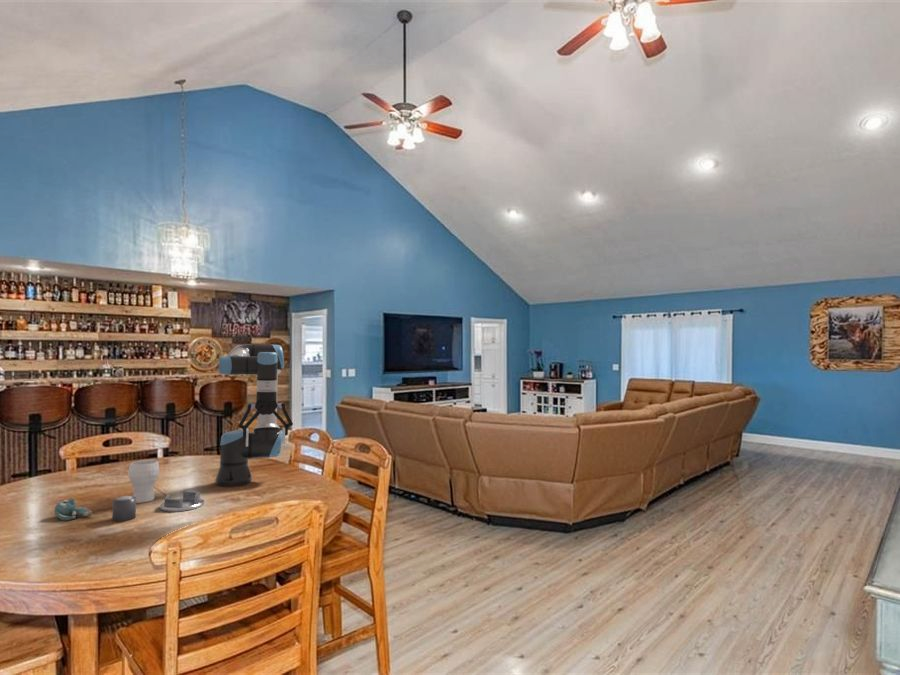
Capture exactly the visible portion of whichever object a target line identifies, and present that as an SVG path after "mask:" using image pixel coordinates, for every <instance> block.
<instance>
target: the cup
mask: <svg viewBox="0 0 900 675" xmlns="http://www.w3.org/2000/svg"><path fill="white" fill-rule="evenodd" d="M159 475H160V465H159V461H158V460H157V459H142V460H136V461H132V462H130V463H129V468H128V474H127V476H128V478H129V482H130V483H131V485H132V488H133V489H132V490H133V493H132V496H135V497H136V504H138V503H139V504H140V503H146V502H151V501H154V500H155V493H154V492H155V491H154V486H155V482H156V481H157V479H158V478H159Z"/></svg>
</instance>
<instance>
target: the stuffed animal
mask: <svg viewBox="0 0 900 675" xmlns="http://www.w3.org/2000/svg"><path fill="white" fill-rule="evenodd" d="M91 514H92V510H89V509H88V508H87V507H82V506H77V502H76V501H75V498H74V497H71V498H69V499H65V500H62V501H59V502H58V503H57V504H56V505H55V506H54V515H55V516H56V518H58V519H59V520H60V521H71V520H75V519H76V517H77V516H79V517H80V516H82V517H88V516H89V515H91Z"/></svg>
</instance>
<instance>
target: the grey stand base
mask: <svg viewBox="0 0 900 675" xmlns="http://www.w3.org/2000/svg"><path fill="white" fill-rule="evenodd" d="M204 504H205V500H204V499H203V498H201V491H196V490H195V491H194V490H193V491H191V490H184V491H182V497H179V498H172V494H171V493H168V494H166V495H165V497H164V502H163V503H160V505H159V508H160V511H162V512H168V513H169V512H170V513H179V512H187V511H192V510H196V509H199V508H201V507H202V506H204Z"/></svg>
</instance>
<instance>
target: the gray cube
mask: <svg viewBox="0 0 900 675" xmlns="http://www.w3.org/2000/svg"><path fill="white" fill-rule="evenodd" d="M111 514H112V515H111V516H112V518H111V521H112V522H114V523H122V522H129V521H132V520H134V519H136V517H137V515H136V514H137V503H136V497H135V496H133V495H124V496H119V497H116V498H114V499H112V513H111Z"/></svg>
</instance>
